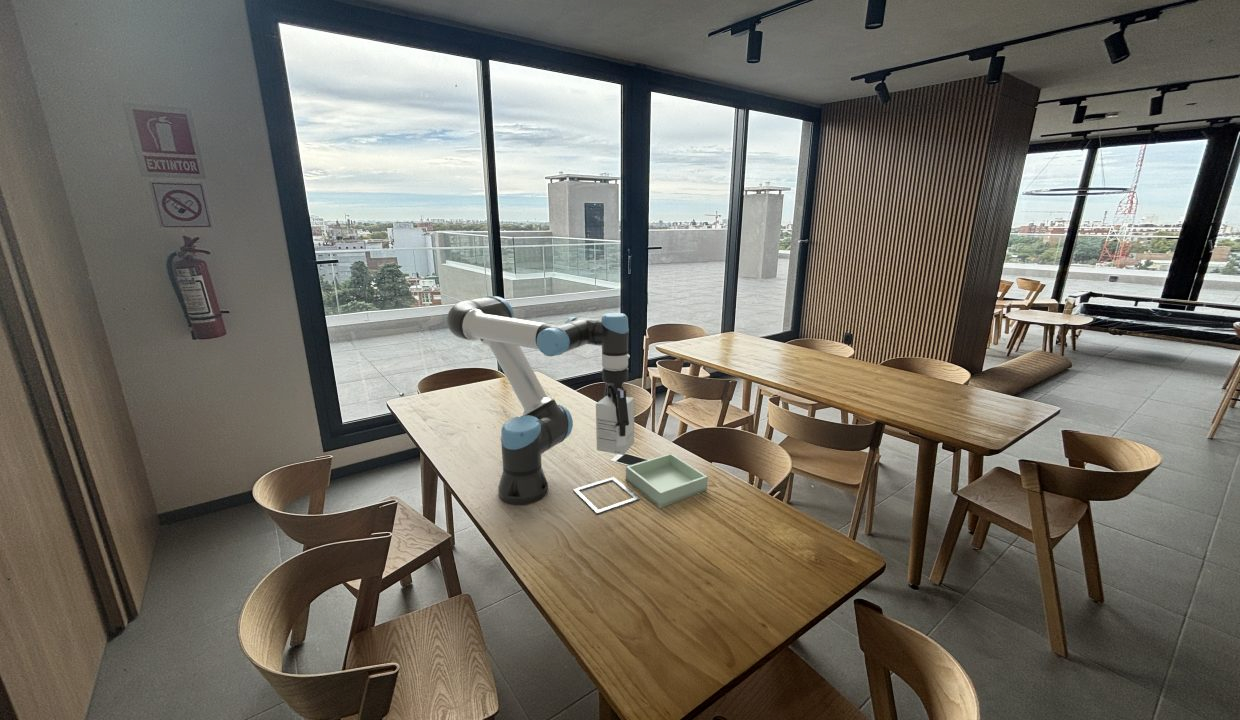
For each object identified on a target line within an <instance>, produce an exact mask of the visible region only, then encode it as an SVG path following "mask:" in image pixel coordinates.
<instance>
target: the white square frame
mask: <svg viewBox="0 0 1240 720" xmlns="http://www.w3.org/2000/svg"><path fill="white" fill-rule="evenodd" d="M610 482H613V483H615V485H617V486H618V487H619V488H620V489H621V490H622V491H624V492H625V493H626V494H627V495H629V496H630V497H631V498H628V499H626V500H623V501H620V502H617V503H614V504H612V505H609V506H605V507H602V508H600V509H598V508H597V506H595V505H594V504H593V502H592V501H590V500H589V499H588V498H587V497H586V496H585V495H584V494H583V493H582V492H581V491H585V490H588V489H591V488H594V487H598V486H600V485H603V484H606V483H610ZM573 492H574V494H576V495H577V496H578V497H579V498H580V499H581V501H583V502H584V504H585V505H587V506H588V507H589V508H590V509H591V510H592V511H593V513H595V515H600V514H602V513H605V512H608V511H612V510H614V509H617V508H620V507H624V506H625V505H628V504H629V505H630V504H631V503H634V502H635V503H636V502H637V501H640V497H639V496H637V495H636V494H635V493H634V492H633V491H631V490H630V489H629V488H628V487H626V485H624V484H623V483H622V482H620V481H619V480H618V479H617V478H616V477H614V476H612V477H610V478H609V477H608V478H605V479H603V480H598V481H595V482H592V483H589V484H586V485H583V486H579V487H576V488H573Z"/></svg>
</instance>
